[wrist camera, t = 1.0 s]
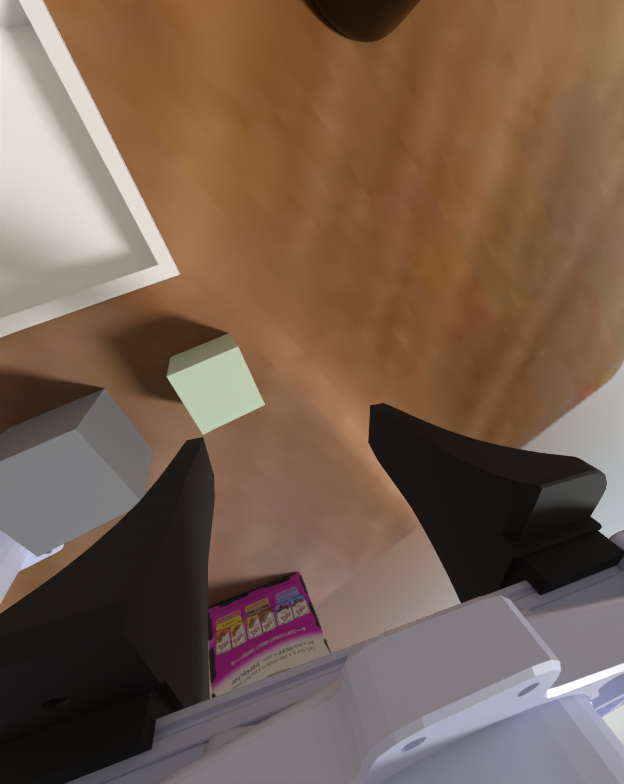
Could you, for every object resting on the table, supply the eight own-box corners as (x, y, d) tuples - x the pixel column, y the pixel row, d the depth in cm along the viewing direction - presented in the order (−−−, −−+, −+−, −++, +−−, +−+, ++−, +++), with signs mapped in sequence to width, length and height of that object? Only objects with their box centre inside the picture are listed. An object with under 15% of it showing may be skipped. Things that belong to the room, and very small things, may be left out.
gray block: (73, 488, 21) (37, 556, 16) (9, 426, 18) (-59, 486, 13) (153, 450, 22) (143, 503, 17) (105, 387, 20) (75, 428, 14)
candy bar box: (211, 634, 33) (229, 903, 19) (204, 607, 31) (219, 886, 17) (301, 595, 37) (372, 795, 23) (301, 569, 35) (378, 771, 21)
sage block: (200, 406, 23) (203, 434, 19) (170, 356, 20) (166, 376, 17) (252, 383, 24) (264, 404, 20) (228, 332, 21) (238, 346, 18)
